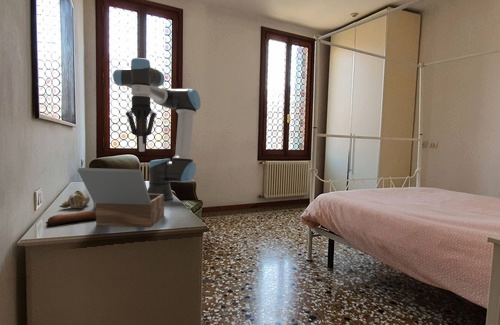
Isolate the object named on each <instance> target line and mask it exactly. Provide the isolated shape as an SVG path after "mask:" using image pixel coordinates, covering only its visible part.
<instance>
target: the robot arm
mask: <svg viewBox="0 0 500 325" xmlns="http://www.w3.org/2000/svg"><path fill="white" fill-rule="evenodd" d="M112 76H113V77H112V79H113V82H114V83H115V85H117V86H119V87H128V88H130V89H131V95H132V96H131V108H130V110H129V111H126V112H125V115H126V117H127V119H128V123H129V127H130V130H131V134H132V135H134V136H136V143H137V144H138V151H139V153H140V152H145V151H146V149H145V148H146V147H145V146H146V144H147V141H148V140H147V139H148V138H147V137H148V136H151V134H152V132H153V127H154V123H155V119H156V117H157V115H158V114H157V113H156V112H154V111H153V110H152V107H151V100H152V101H153V102H154V103H155V104H157V105H159V106H162V107H164V108H166V109H170V110H175V112H176V113H177V126H176V127H177V128H176V139H175V141H176V142H175V143H176V144H175V155H174V156H173V157H172V158H163V159H154V160H153V159H152V160H150V161H149V164H148V165H149V166H148V187H147V190H148V194H164V201H170V200H172V199H173V198H174V196H173V191H172V188H171V182H172V183H173V182H177V183H190V182H192V181H193V179H195V176H196V172H197V167H196V166H197V165H196V162H194V159H193V158H192V156H191V155H192V154H191V153H192V152H191V151H192V142H193V141H192V139H193V124H194V116H195V115H196V114H197V111H198V110H200V108H201V97H200V95H199V92H198V90H197V89H194V88H164V87H162V85H163V84H164V83H165V75H164V73H163V72H161V71H160V70H158V69H156V68H154V67H151V62H150V60H149V59H148V58H143V57H134V58H131V61H130V68H120V69H115V70H114V71H113V73H112ZM148 117H149V120H148ZM134 118H135V120H134ZM171 159H172V160H171Z"/></svg>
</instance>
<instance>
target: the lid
mask: <svg viewBox="0 0 500 325" xmlns="http://www.w3.org/2000/svg"><path fill="white" fill-rule="evenodd" d="M77 173H78V174H79V176H80V178H81V180H82V182H83V185H84V186H85V188H86V189H87V193H88V195H89V197H91V198H90V199H92V202H94V203H107V204H139V205H151V200H150V197H149V194H148V187H147V185H146V181H145V178H144V175H143V172H142V169H131V168H130V169H129V168H127V169H126V168H101V167H100V168H96V167H95V168H93V167H78V169H77Z"/></svg>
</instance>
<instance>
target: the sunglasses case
mask: <svg viewBox="0 0 500 325" xmlns="http://www.w3.org/2000/svg"><path fill="white" fill-rule="evenodd" d="M91 220H96V211H92V210H91V211H90V210H83V211H78V212H74V213H64V214H62V213H61V214H60V213H59V214H56V215H53V216H50V217H49V218H48V219H47V220H46V222H45V224H46V227H47V228H48V227H52V226H56V225H61V224H66V223H67V224H68V223H73V222H81V221H91Z"/></svg>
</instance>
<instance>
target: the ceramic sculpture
mask: <svg viewBox="0 0 500 325" xmlns="http://www.w3.org/2000/svg"><path fill="white" fill-rule="evenodd" d="M90 197H91V196H90V194H89V193H88V192H87V191H86V190H83V191H81V190H76V191H75V192H74V193H72V194H70V195H69V196H68V199H67V200H65V201H64V202H63V203H62V204H61V205H59V208H62V209H68V208H70V207H71V209H82V208H84V207H85V206H86V205H88V204H89V203H90V201H91V198H90Z"/></svg>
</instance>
